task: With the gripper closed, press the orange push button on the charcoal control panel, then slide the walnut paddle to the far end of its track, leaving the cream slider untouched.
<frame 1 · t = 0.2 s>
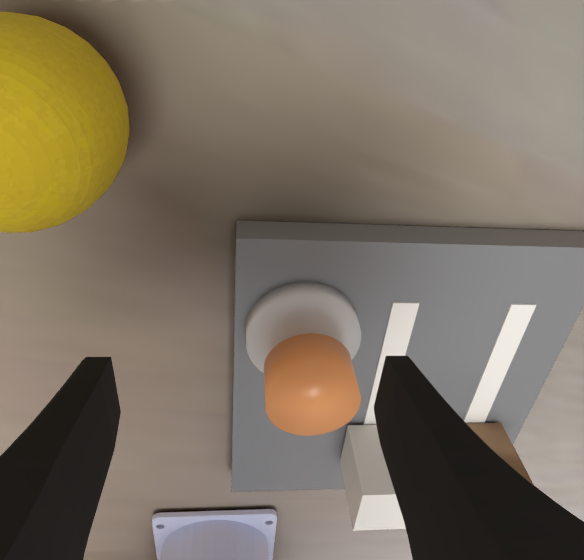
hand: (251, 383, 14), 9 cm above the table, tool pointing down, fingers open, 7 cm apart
panel: (386, 367, 27), on the table
lemon: (66, 85, 18), on the table
slider walnut: (481, 472, 27), point 4 cm above the table, slide at 0.0 cm
button orange: (310, 385, 20), point 5 cm above the table, slide at 0.0 cm
slider cream: (379, 475, 26), point 4 cm above the table, slide at 0.0 cm
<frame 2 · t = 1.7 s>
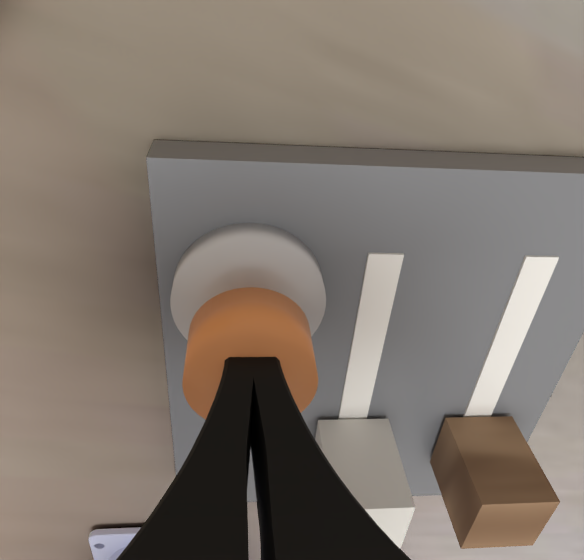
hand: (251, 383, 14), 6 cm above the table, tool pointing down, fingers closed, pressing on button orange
panel: (366, 346, 21), on the table
slider walnut: (487, 479, 21), point 4 cm above the table, slide at 0.0 cm
button orange: (250, 359, 14), point 5 cm above the table, slide at 0.0 cm, touching gripper
slider cream: (357, 483, 20), point 4 cm above the table, slide at 0.0 cm
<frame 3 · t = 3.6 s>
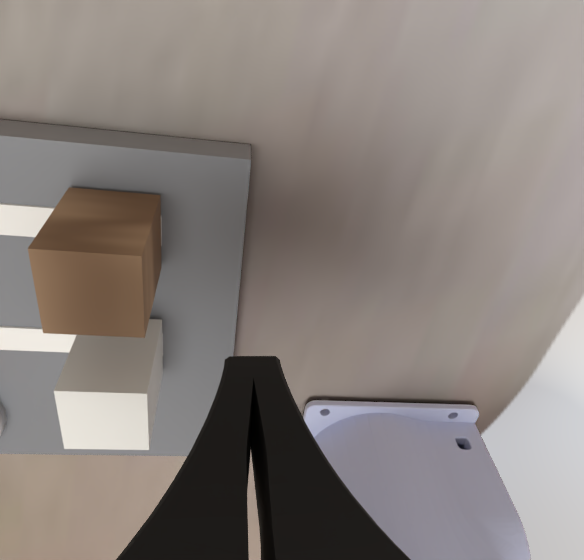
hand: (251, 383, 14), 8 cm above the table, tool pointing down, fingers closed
panel: (35, 306, 22), on the table
slider walnut: (105, 259, 16), point 4 cm above the table, slide at 0.0 cm
slider cream: (115, 380, 19), point 4 cm above the table, slide at 0.0 cm
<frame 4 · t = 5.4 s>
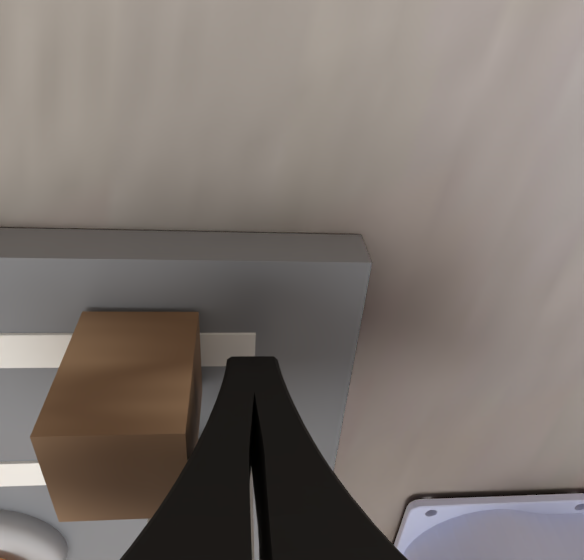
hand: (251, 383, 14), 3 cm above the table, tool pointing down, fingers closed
panel: (96, 425, 18), on the table
slider walnut: (134, 408, 13), point 4 cm above the table, slide at 1.6 cm, touching gripper
slider cream: (203, 528, 16), point 4 cm above the table, slide at 0.0 cm
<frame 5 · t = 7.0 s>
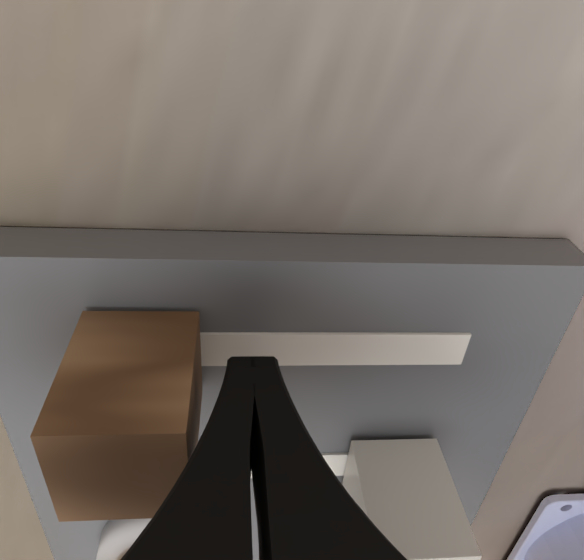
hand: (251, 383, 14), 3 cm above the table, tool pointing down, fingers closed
panel: (273, 421, 19), on the table
slider walnut: (134, 408, 13), point 4 cm above the table, slide at 7.9 cm, touching gripper
slider cream: (401, 519, 16), point 4 cm above the table, slide at 0.0 cm
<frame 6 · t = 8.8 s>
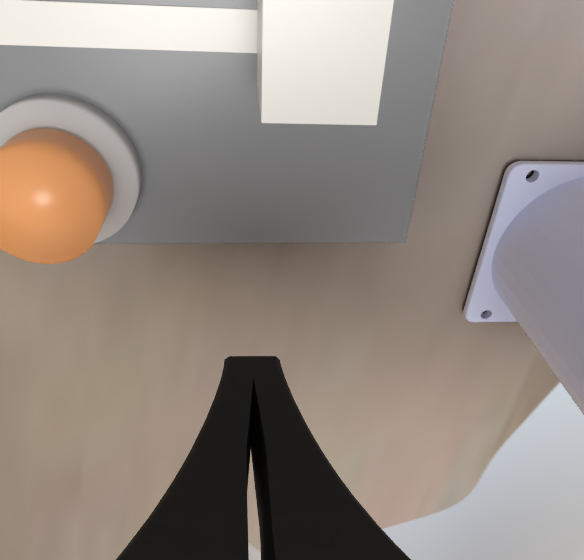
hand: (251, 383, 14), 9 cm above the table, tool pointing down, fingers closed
panel: (177, 3, 16), on the table
button orange: (46, 196, 16), point 4 cm above the table, slide at 1.2 cm
slider cream: (314, 46, 14), point 4 cm above the table, slide at 0.0 cm
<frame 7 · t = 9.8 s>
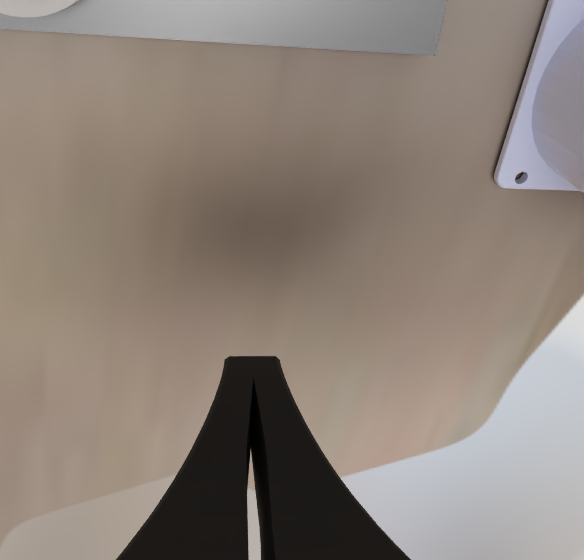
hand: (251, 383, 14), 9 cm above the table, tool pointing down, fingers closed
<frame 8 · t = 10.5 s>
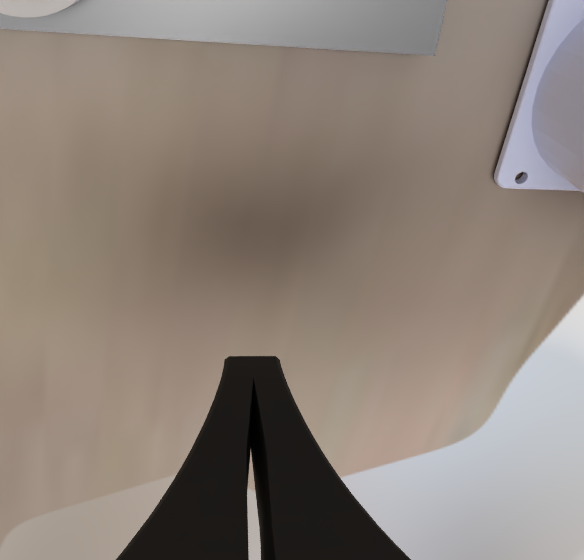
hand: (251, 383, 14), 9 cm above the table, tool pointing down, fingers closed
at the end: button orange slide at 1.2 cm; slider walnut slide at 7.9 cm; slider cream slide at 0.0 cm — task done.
